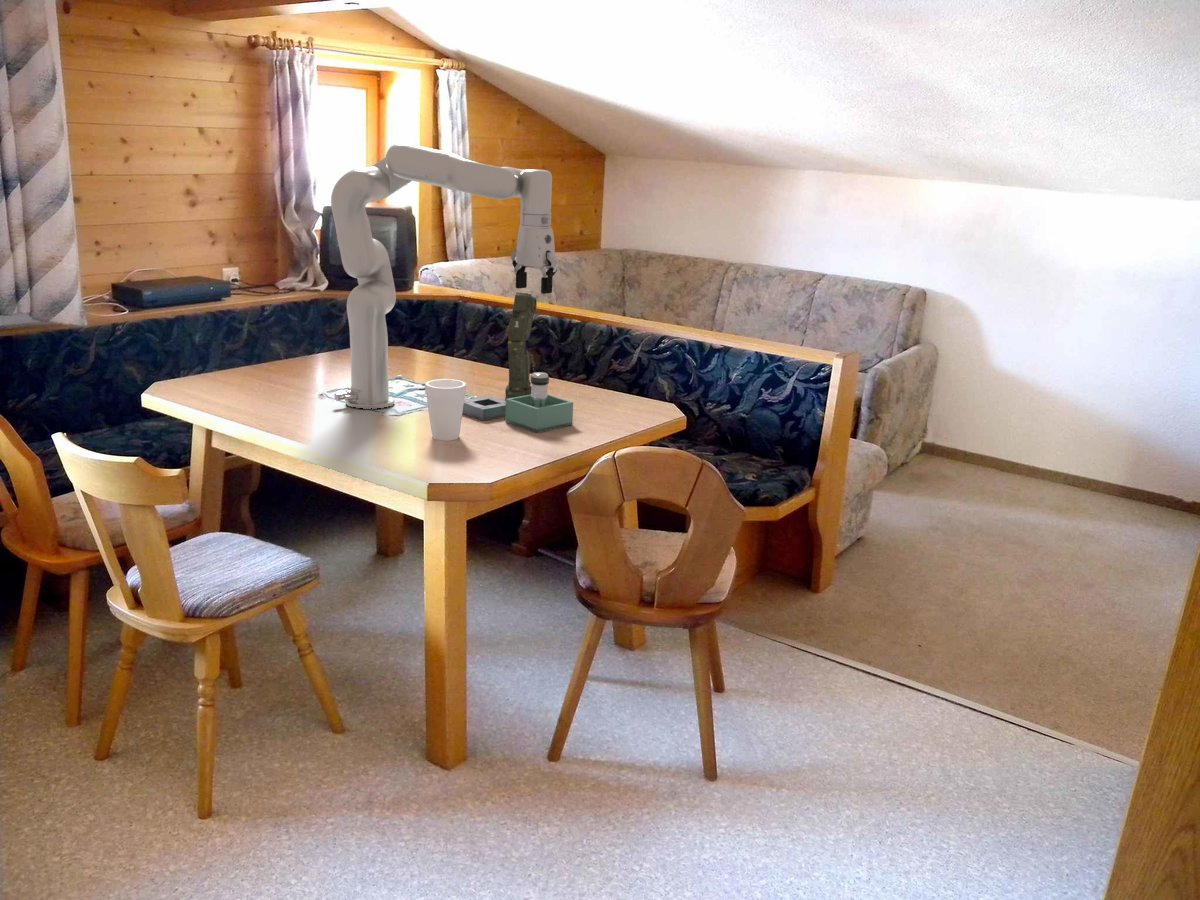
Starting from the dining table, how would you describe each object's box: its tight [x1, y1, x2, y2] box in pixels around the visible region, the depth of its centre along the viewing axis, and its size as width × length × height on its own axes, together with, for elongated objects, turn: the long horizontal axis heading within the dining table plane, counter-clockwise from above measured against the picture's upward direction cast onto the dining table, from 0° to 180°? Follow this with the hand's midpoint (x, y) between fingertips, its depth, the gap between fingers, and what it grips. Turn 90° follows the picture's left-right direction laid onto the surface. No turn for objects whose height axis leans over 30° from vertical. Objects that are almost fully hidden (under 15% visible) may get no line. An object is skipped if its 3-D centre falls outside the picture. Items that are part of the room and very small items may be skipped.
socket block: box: [462, 395, 506, 422], centre depth 260 cm, size 10×10×3 cm
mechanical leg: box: [504, 292, 538, 401], centre depth 275 cm, size 14×7×30 cm, turn 168°
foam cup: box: [424, 378, 467, 442], centre depth 237 cm, size 10×9×13 cm
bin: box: [504, 393, 574, 433], centre depth 253 cm, size 12×12×6 cm
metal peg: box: [530, 371, 550, 408], centre depth 252 cm, size 5×5×12 cm
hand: (533, 290), depth 253 cm, fingers open, 9 cm apart
